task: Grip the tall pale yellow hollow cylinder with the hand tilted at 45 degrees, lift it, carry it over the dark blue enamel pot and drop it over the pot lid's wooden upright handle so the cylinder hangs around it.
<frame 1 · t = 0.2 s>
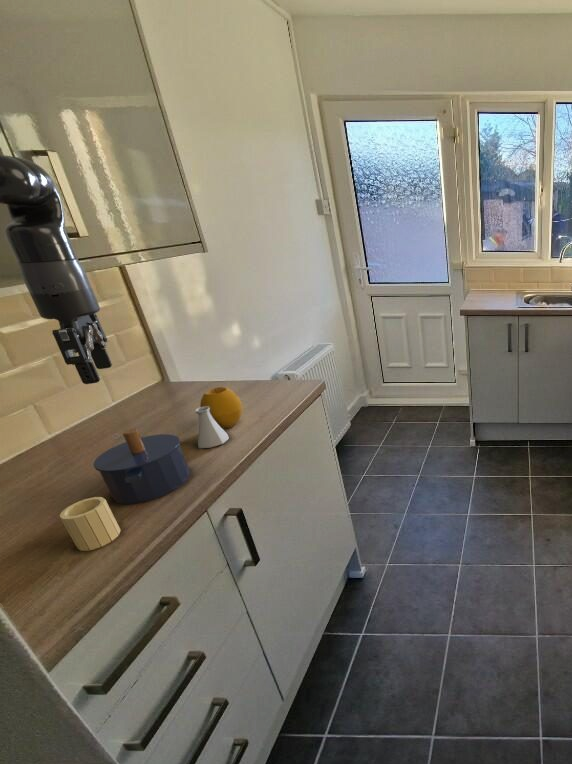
hand: (99, 375, 77), 29 cm above the countertop, tool pointing down, fingers open, 8 cm apart
pot lid: (139, 452, 91), point 8 cm above the countertop, touching pot
pot: (153, 484, 94), on the countertop
pale yellow hollow cylinder: (99, 538, 79), on the countertop
flask: (214, 442, 111), on the countertop
apple: (227, 425, 120), on the countertop
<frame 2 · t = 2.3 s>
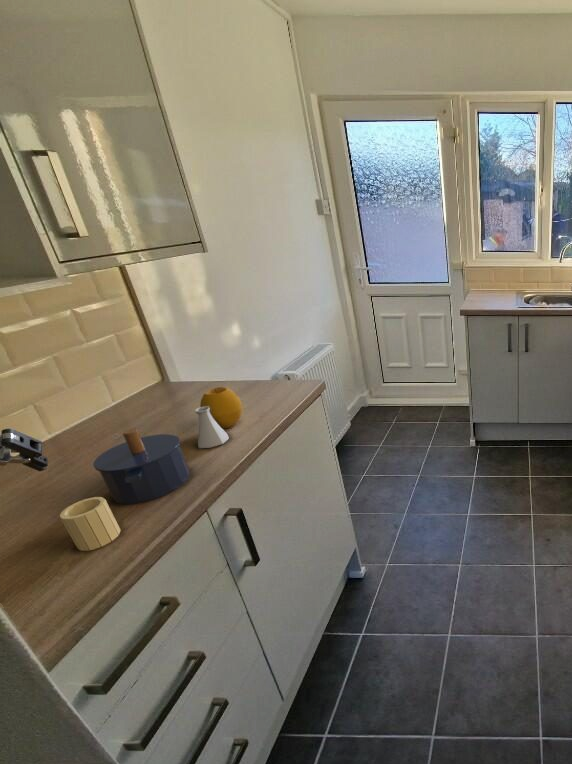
hand: (11, 476, 68), 17 cm above the countertop, tool tilted 35°, fingers open, 8 cm apart
nothing on the countertop moved.
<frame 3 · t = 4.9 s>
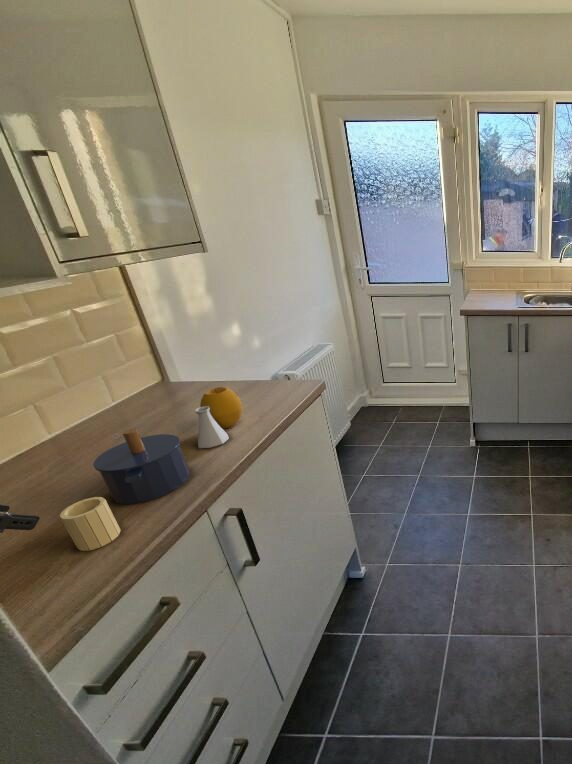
hand: (20, 517, 68), 11 cm above the countertop, tool tilted 45°, fingers open, 8 cm apart
nothing on the countertop moved.
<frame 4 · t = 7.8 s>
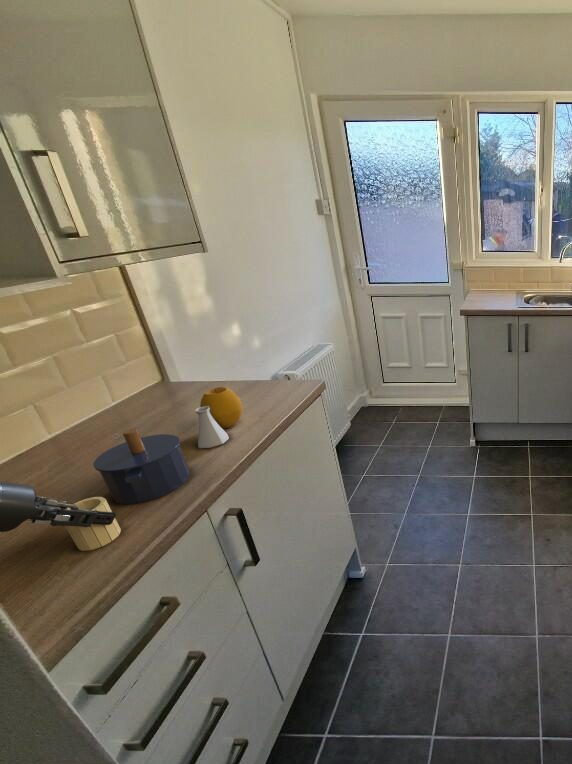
hand: (100, 515, 79), 4 cm above the countertop, tool tilted 45°, fingers closed on pale yellow hollow cylinder, 6 cm apart
pale yellow hollow cylinder: (99, 538, 79), on the countertop, touching gripper
everything else where it was.
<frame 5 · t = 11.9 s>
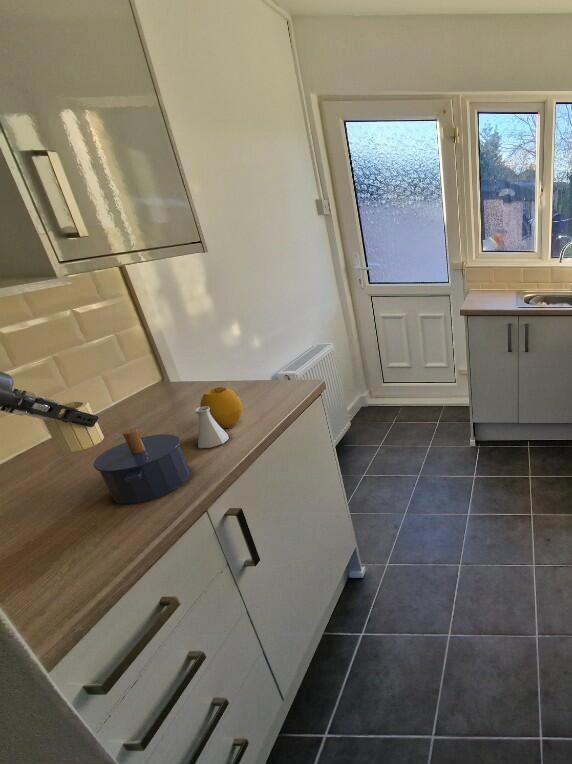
hand: (83, 419, 77), 22 cm above the countertop, tool tilted 45°, fingers closed on pale yellow hollow cylinder, 6 cm apart
pale yellow hollow cylinder: (82, 443, 77), point 18 cm above the countertop, touching gripper
everything else where it was.
when the fingers open (13 cm above the countertop, at t = 16.6 s): pale yellow hollow cylinder stays where it is, resting on pot lid.
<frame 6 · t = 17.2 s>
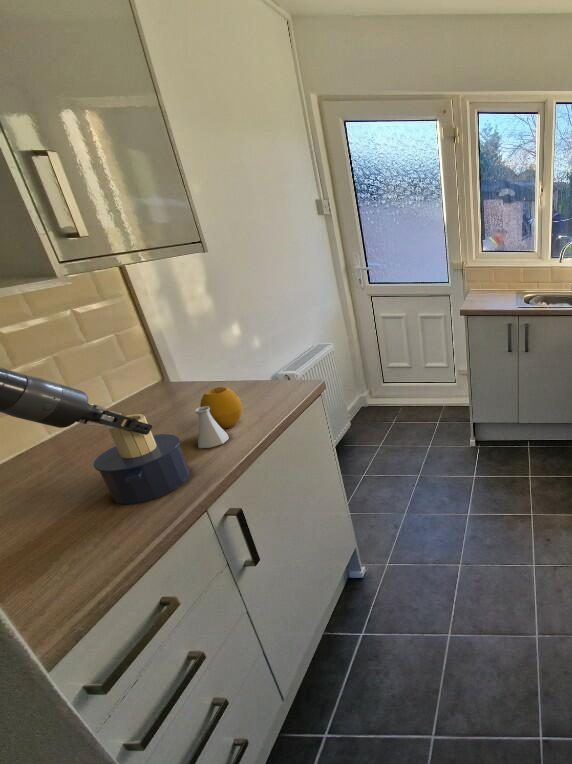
hand: (135, 427, 90), 14 cm above the countertop, tool tilted 45°, fingers open, 8 cm apart
pot lid: (139, 452, 91), point 8 cm above the countertop, touching pot, pale yellow hollow cylinder
pale yellow hollow cylinder: (139, 450, 91), point 9 cm above the countertop, touching pot lid
everything else where it was.
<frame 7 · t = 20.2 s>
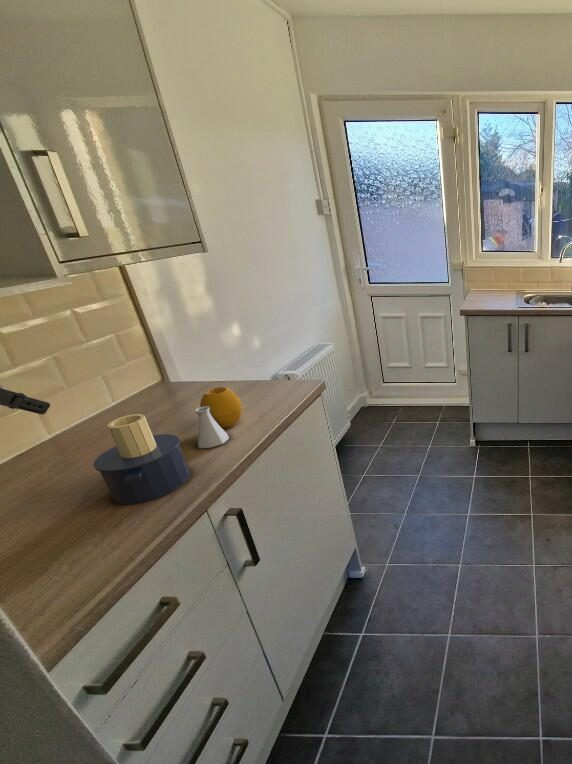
hand: (32, 405, 74), 26 cm above the countertop, tool tilted 45°, fingers open, 8 cm apart
nothing on the countertop moved.
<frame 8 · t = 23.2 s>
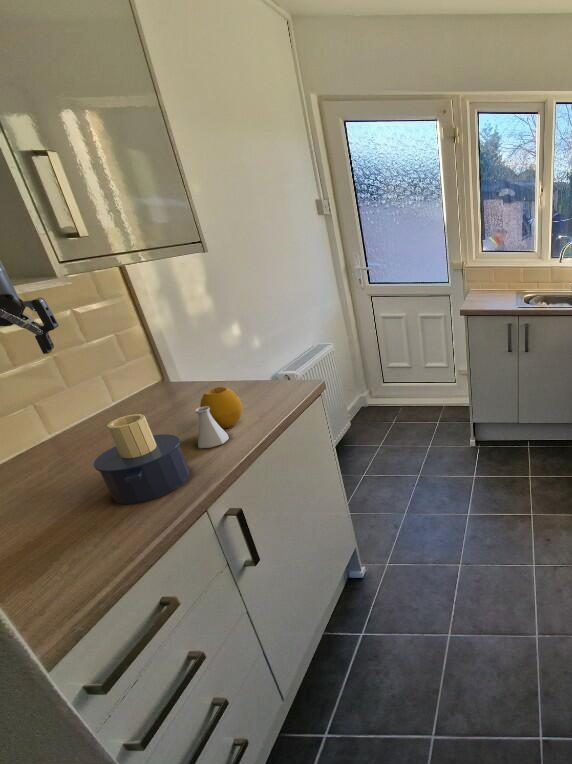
hand: (17, 356, 79), 32 cm above the countertop, tool pointing down, fingers open, 8 cm apart
nothing on the countertop moved.
at the end: pale yellow hollow cylinder 0.1 cm off-centre on the pot, point 9.0 cm above the pot's base; pale yellow hollow cylinder tilted 0°; the gripper is holding nothing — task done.
